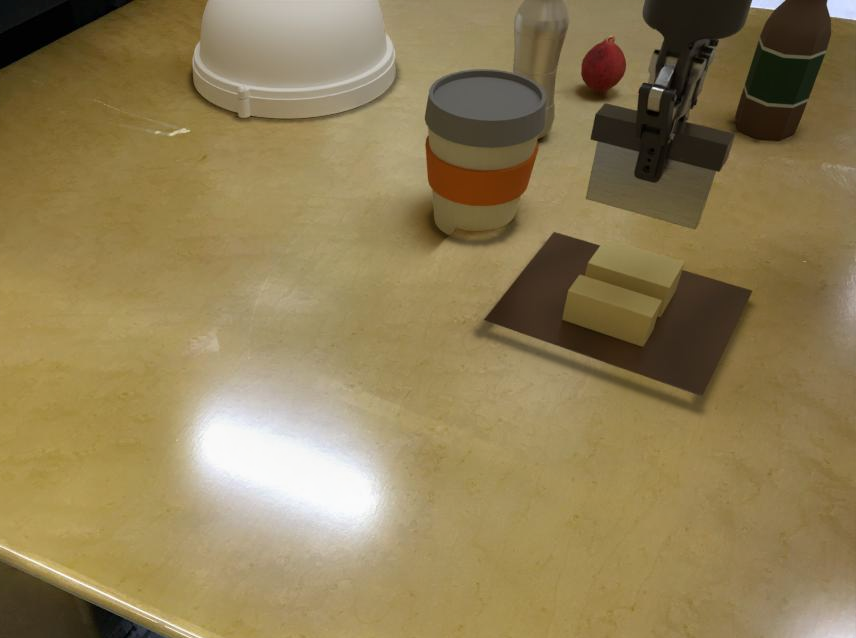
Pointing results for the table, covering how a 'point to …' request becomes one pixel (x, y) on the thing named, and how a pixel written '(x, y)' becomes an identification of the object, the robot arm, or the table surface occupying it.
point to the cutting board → (658, 359)
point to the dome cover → (292, 56)
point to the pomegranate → (603, 66)
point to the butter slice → (611, 310)
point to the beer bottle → (784, 69)
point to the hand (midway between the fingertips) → (652, 170)
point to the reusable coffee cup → (481, 146)
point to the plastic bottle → (540, 46)
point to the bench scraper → (682, 177)
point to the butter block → (636, 270)
